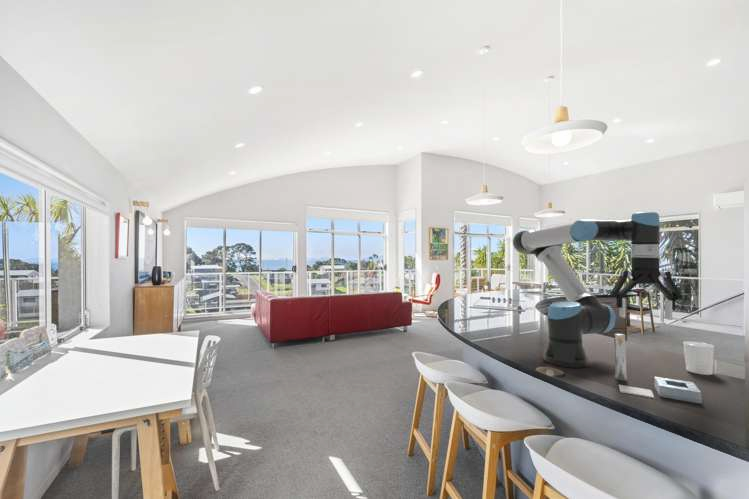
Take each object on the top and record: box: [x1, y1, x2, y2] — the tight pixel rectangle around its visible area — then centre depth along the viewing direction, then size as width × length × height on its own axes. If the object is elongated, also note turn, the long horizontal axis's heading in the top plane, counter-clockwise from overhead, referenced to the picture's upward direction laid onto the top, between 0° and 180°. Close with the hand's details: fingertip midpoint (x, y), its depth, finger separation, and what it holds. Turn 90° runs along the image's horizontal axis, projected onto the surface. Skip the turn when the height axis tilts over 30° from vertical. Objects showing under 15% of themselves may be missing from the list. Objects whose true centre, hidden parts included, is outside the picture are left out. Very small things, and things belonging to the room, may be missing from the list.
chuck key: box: [613, 333, 627, 382], centre depth 111 cm, size 3×6×15 cm, turn 146°
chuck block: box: [654, 376, 703, 404], centre depth 98 cm, size 9×9×3 cm
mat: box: [618, 384, 655, 399], centre depth 100 cm, size 8×6×1 cm
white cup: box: [683, 340, 715, 376], centre depth 118 cm, size 8×8×10 cm
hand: (645, 318), depth 113 cm, fingers open, 13 cm apart
